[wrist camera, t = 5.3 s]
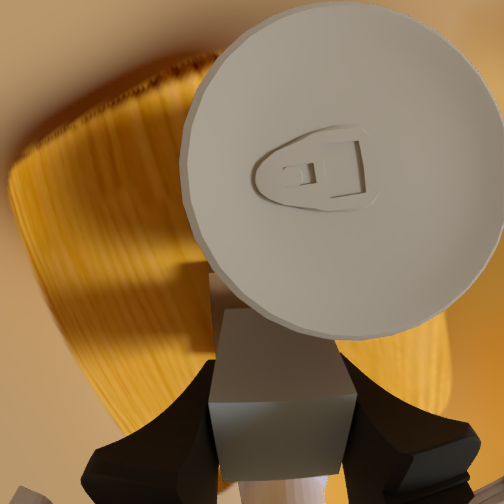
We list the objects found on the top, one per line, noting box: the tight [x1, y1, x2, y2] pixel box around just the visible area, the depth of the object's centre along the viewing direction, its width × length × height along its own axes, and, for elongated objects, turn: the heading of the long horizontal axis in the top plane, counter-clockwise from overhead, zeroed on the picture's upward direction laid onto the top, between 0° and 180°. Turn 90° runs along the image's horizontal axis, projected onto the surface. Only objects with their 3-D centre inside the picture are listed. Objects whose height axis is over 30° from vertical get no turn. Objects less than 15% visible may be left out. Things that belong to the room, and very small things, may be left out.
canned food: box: [179, 1, 504, 341], centre depth 11 cm, size 8×8×11 cm
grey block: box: [208, 308, 357, 481], centre depth 11 cm, size 4×4×6 cm
